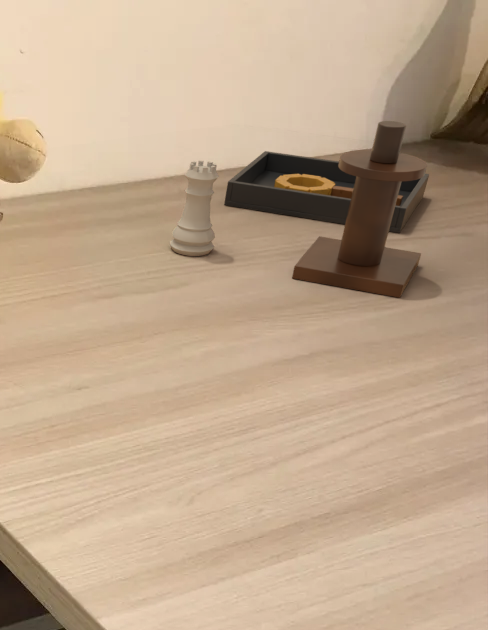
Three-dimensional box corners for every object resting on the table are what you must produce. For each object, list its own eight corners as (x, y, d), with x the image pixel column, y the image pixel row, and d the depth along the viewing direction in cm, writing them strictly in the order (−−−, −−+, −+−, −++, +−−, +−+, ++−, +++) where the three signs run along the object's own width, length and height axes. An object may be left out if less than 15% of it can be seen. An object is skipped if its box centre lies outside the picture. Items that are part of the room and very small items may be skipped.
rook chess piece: (222, 252, 103) (236, 166, 98) (189, 260, 101) (202, 173, 96) (192, 239, 106) (204, 155, 101) (159, 247, 104) (170, 161, 99)
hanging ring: (268, 195, 117) (270, 184, 116) (282, 181, 121) (284, 171, 121) (394, 215, 112) (397, 203, 111) (404, 200, 117) (407, 188, 116)
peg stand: (418, 265, 101) (459, 119, 93) (399, 298, 94) (442, 143, 86) (316, 248, 105) (347, 106, 96) (291, 278, 98) (322, 128, 89)
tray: (423, 197, 119) (429, 173, 118) (399, 233, 109) (406, 208, 107) (261, 173, 126) (264, 150, 124) (224, 205, 115) (227, 181, 114)
